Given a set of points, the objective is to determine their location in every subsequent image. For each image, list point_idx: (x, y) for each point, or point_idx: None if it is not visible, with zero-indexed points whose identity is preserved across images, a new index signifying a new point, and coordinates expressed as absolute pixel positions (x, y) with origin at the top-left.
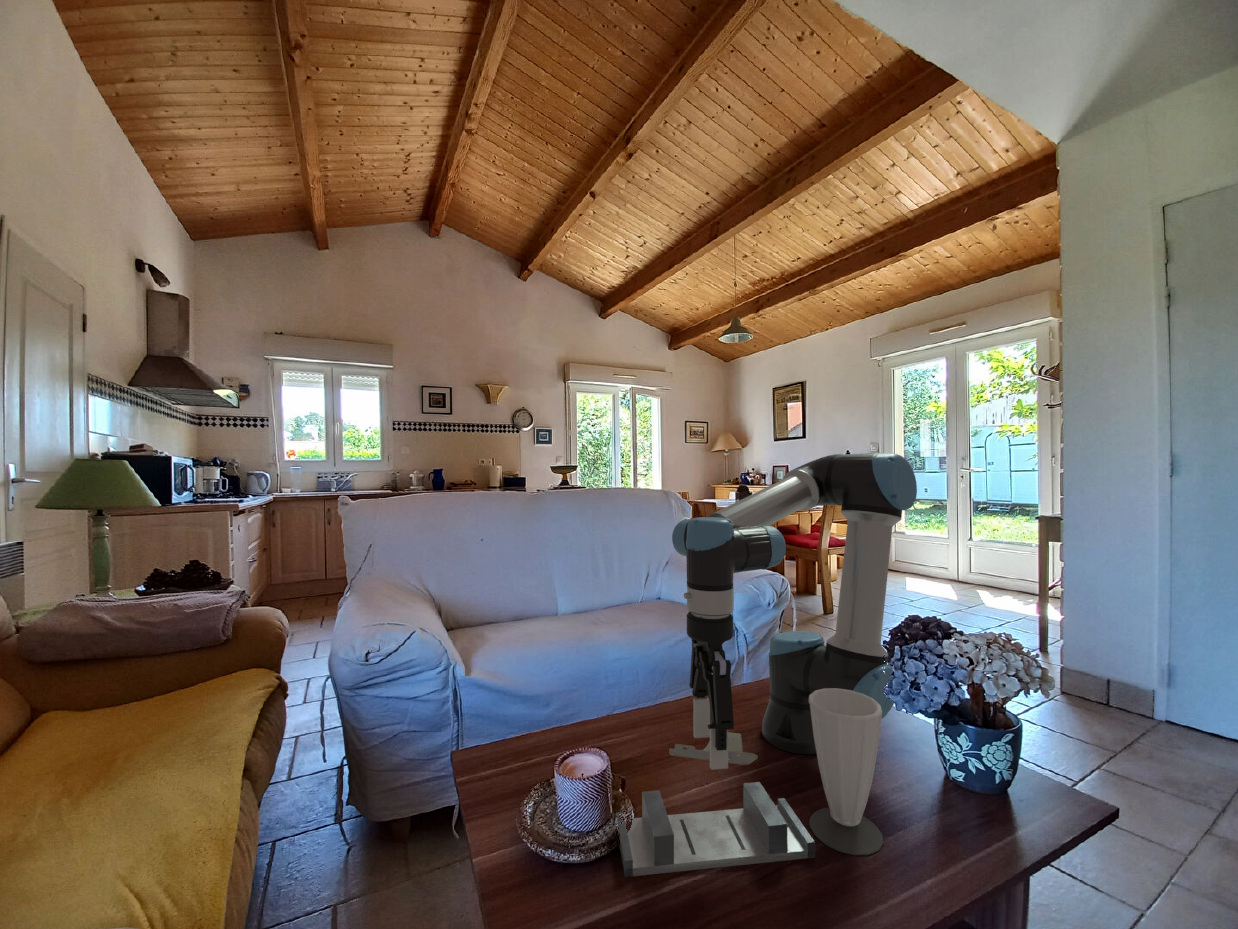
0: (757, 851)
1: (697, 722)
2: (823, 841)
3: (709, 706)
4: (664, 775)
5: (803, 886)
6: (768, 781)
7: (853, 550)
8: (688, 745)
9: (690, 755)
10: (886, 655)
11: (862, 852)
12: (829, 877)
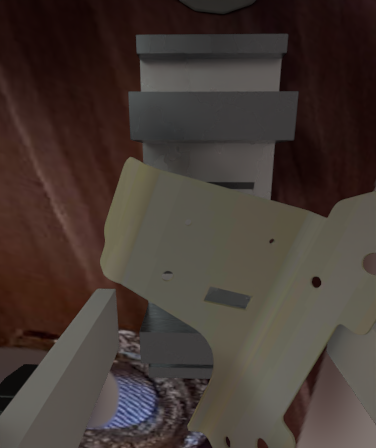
0: (264, 162)
1: (95, 388)
2: (245, 3)
3: (42, 408)
4: (13, 260)
5: (333, 106)
6: (32, 36)
7: None
8: None
9: (245, 395)
10: None
11: None
12: (327, 44)
